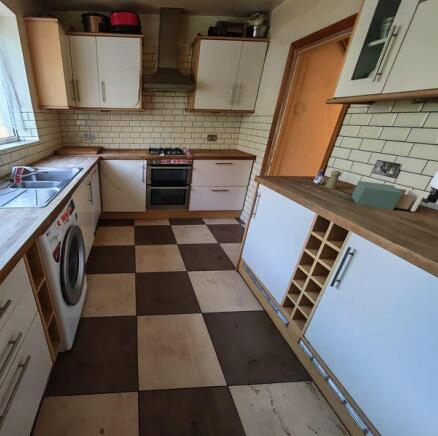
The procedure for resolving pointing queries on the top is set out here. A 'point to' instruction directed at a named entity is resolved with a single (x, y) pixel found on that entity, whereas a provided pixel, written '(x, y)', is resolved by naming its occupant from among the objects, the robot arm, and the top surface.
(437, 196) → the robot arm
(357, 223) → the top surface
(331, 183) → the beige upright figurine
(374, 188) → the green faceted block
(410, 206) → the drawer
